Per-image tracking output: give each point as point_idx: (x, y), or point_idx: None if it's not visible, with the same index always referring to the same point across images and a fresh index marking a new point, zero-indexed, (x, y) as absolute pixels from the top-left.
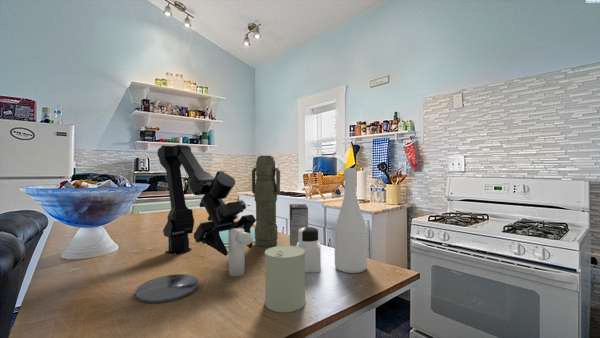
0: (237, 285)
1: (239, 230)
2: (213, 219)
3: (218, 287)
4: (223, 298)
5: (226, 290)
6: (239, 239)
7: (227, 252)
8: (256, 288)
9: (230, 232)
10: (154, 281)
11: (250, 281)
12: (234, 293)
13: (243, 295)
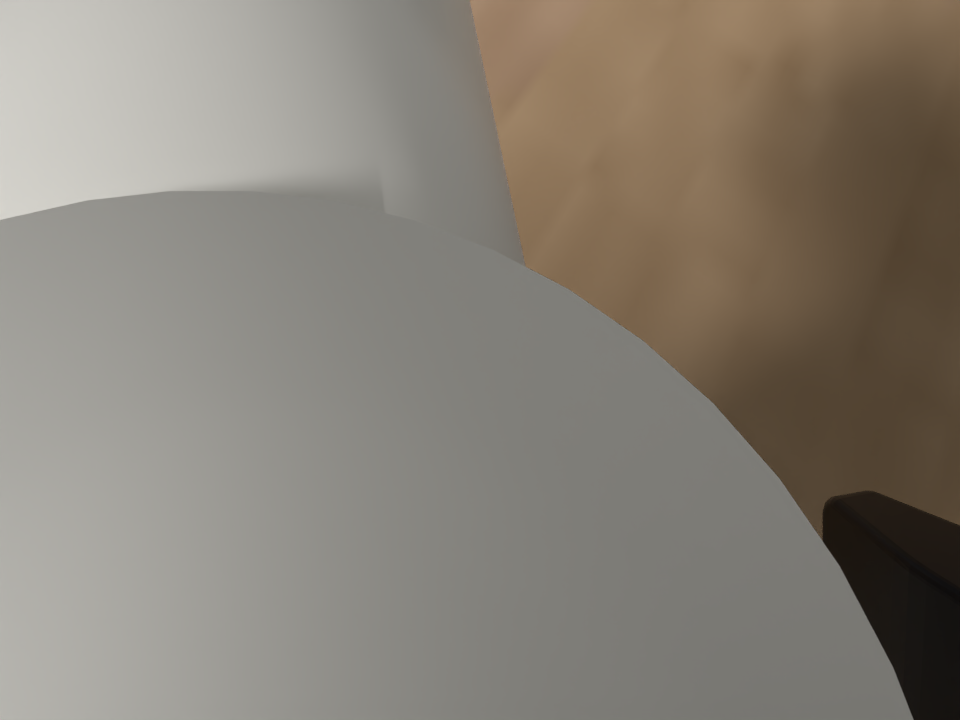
0: (664, 308)
1: (48, 468)
2: None
3: (917, 416)
4: (947, 106)
5: (848, 264)
6: (500, 148)
7: (846, 504)
8: (515, 98)
9: (869, 703)
10: None
11: None
12: (791, 138)
13: (724, 43)
